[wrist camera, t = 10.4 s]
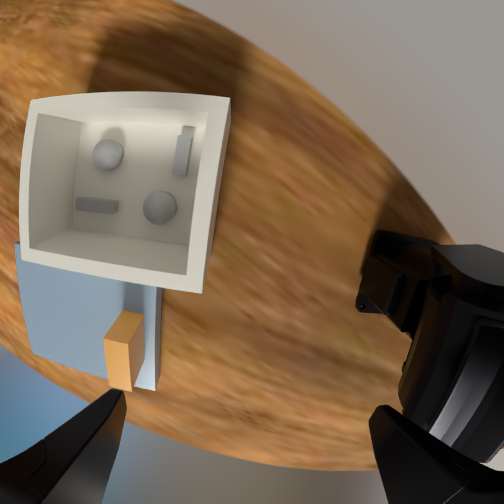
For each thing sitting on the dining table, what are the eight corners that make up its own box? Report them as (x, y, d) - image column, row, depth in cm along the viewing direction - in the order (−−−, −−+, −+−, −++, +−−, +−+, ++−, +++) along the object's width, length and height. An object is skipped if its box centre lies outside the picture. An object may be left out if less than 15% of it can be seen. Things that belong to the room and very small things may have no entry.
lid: (164, 262, 19) (141, 297, 14) (159, 375, 22) (146, 422, 16) (29, 237, 18) (-15, 257, 12) (42, 342, 20) (13, 375, 15)
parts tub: (231, 120, 17) (229, 97, 11) (210, 255, 19) (201, 293, 13) (80, 113, 15) (31, 100, 10) (69, 235, 18) (21, 260, 12)
